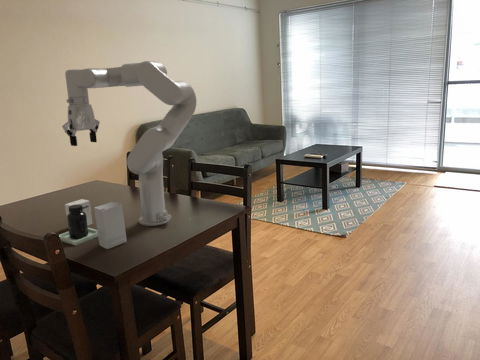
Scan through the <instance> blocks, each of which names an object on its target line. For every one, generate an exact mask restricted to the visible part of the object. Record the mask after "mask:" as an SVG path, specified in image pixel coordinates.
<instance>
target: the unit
mask: <svg viewBox="0 0 480 360" xmlns="http://www.w3.org/2000/svg"><path fill="white" fill-rule="evenodd" d="M76 204H80V205H82V208H83V212H85V213H86V217H87V225H88V226H91V225H93V217H92V216H93V215H92V207H91V201H90V200H88V199H83V198H81V199H78V200H74V201H71V202H68V203H64V210H65V215H66V216H65V217H66V218H67V215H68V214H69V213H70V212H69V206H71V205H76ZM67 225H68V223H67Z"/></svg>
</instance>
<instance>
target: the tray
mask: <svg viewBox="0 0 480 360" xmlns="http://www.w3.org/2000/svg"><path fill="white" fill-rule="evenodd" d="M58 235H59V237H60V239H61V241H60V242H63V243H65V244H69V245H72V246H75V247H76V246H79V245H81V244H84V243H87V242H89V241H92V240H94V239H97V238H98V232H97V229H95V228H91V227H88V236H87V237H84V238H82V239H71V238H70V237H69V230H68V231H66V232H63V233H61V234H58Z"/></svg>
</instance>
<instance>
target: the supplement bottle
mask: <svg viewBox="0 0 480 360" xmlns="http://www.w3.org/2000/svg"><path fill="white" fill-rule="evenodd" d="M69 212H70V213H69V214H68V215H67V217H66V222H67V223H68V224H67V229H68V231H69V237H70V238H71V239H82V238H84V237H87V236H88V228H89V225H87V217H86V213H85V212H83V208H82V205H80V204H76V205H71V206H69Z"/></svg>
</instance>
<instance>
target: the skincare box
mask: <svg viewBox="0 0 480 360" xmlns="http://www.w3.org/2000/svg"><path fill="white" fill-rule="evenodd" d="M123 208H124V207H123V204H122V203H119V202H116V201H110V202H107V203H104V204H102V205H98V206H95V207H93V209H94V216H95V223H96V224H95V225H96V230H97V232H98V237H97V238H98V243H99V244H98V245H99V246H100V247H102V248H104V249H106V250H110V249H112V248H115V247H117V246H119V245H122V244H125V243H127V242H128V241H127V232H126V225H125V224H126V223H125V217H124V215H125V214H124V209H123Z"/></svg>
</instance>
